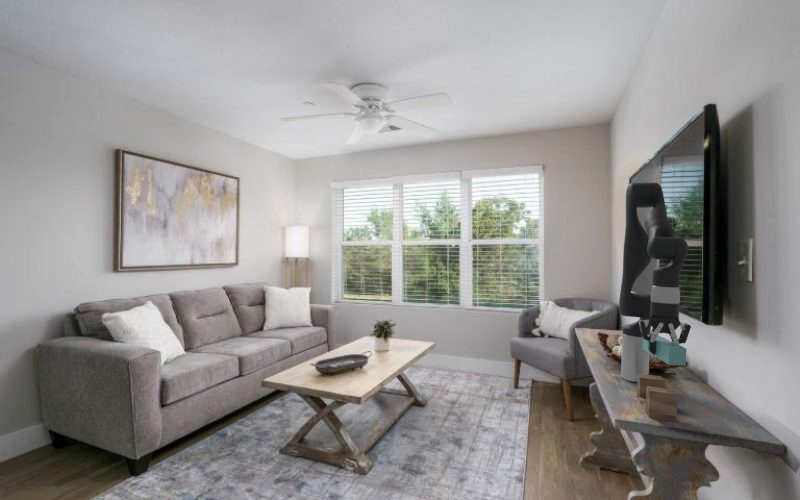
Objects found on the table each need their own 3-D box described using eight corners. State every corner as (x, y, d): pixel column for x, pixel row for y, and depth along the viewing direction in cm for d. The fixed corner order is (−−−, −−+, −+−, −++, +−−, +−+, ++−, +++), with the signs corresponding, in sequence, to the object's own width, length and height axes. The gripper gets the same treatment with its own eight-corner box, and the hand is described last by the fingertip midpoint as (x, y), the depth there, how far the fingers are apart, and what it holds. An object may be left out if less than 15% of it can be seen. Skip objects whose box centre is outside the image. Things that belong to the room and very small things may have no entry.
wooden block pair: (636, 397, 133) (637, 373, 133) (660, 400, 131) (661, 376, 131) (648, 417, 117) (649, 390, 117) (676, 421, 115) (677, 394, 115)
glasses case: (642, 349, 132) (643, 334, 132) (657, 350, 131) (658, 335, 131) (668, 364, 115) (669, 347, 115) (685, 365, 115) (686, 348, 115)
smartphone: (657, 371, 161) (643, 360, 175) (656, 374, 161) (643, 363, 175) (677, 373, 159) (662, 362, 174) (677, 376, 159) (662, 364, 174)
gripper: (687, 300, 124) (685, 354, 125) (635, 297, 129) (633, 349, 129) (696, 304, 117) (694, 360, 118) (641, 300, 122) (639, 355, 122)
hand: (662, 354), depth 123 cm, fingers closed on glasses case, 5 cm apart
